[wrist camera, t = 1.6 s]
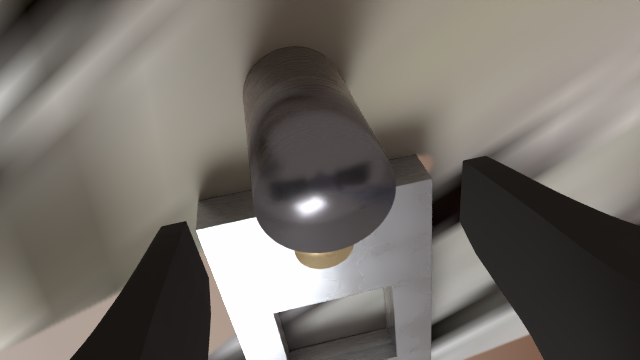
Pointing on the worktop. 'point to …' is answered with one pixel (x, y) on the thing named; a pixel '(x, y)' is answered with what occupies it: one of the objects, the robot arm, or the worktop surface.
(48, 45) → the worktop surface
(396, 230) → the upper end link
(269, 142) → the pin
